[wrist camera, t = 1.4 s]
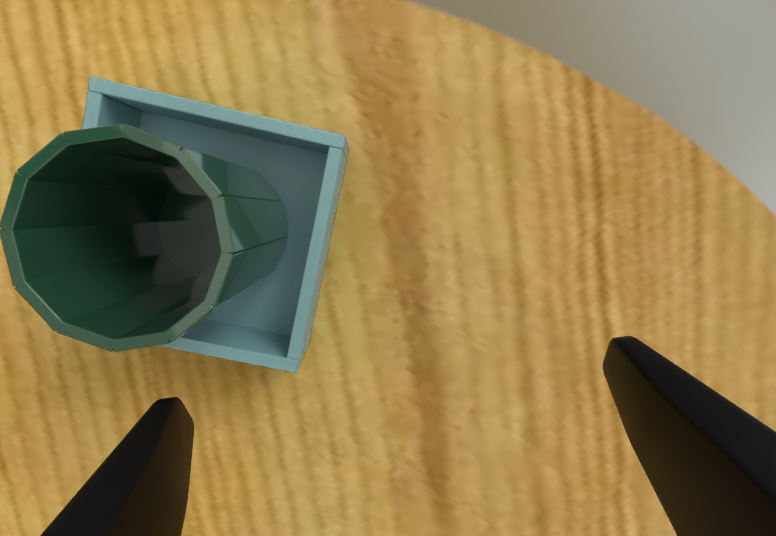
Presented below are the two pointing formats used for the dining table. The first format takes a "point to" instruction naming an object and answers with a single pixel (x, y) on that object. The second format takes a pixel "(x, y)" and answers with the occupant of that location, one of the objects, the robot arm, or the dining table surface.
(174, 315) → the cup
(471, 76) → the dining table surface
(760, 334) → the dining table surface
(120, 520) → the robot arm
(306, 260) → the bin
